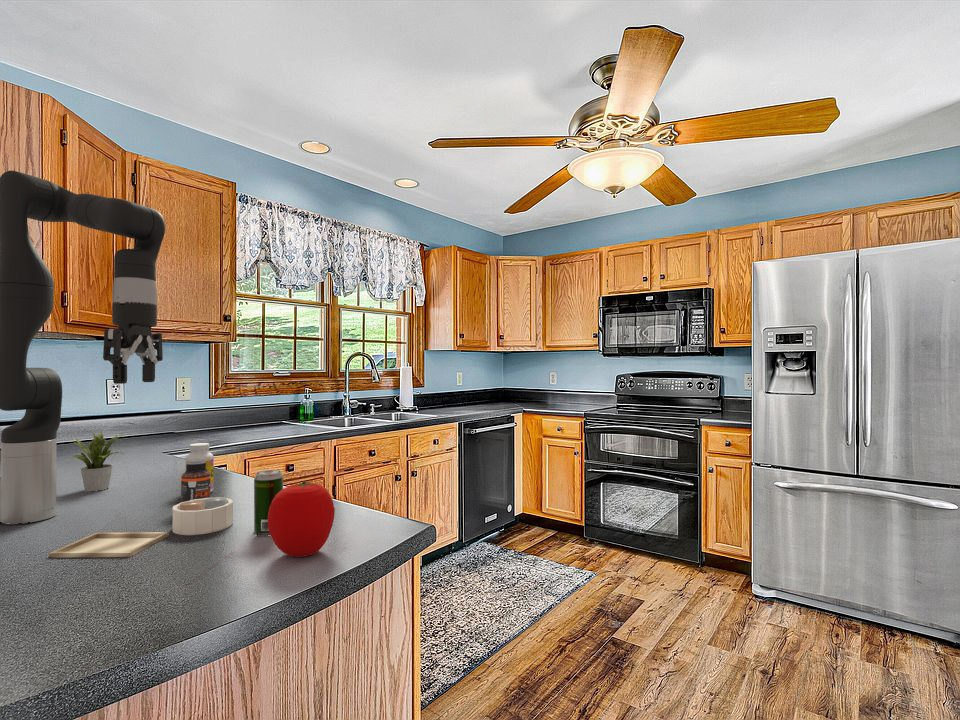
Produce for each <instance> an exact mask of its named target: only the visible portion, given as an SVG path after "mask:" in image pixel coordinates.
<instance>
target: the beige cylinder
mask: <svg viewBox="0 0 960 720" xmlns="http://www.w3.org/2000/svg"><path fill="white" fill-rule="evenodd" d="M180 503H181V502H180ZM180 510H184V511H197V510H202V502H201V501H189V502H184V503H181V504H180Z"/></svg>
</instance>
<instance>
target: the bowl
mask: <svg viewBox="0 0 960 720" xmlns="http://www.w3.org/2000/svg"><path fill="white" fill-rule="evenodd" d="M225 498H226V504H225V505H223V506H220V507H216V508H212V509H205V500H206V499H209V498H203V499H195V500H190V501H201V502H202V510H197V511H184V510H180V504H181V503H184V502H181V501H180V502H179V503H178V504H175V505H173V506H172V533H174V534H176V535H181V536H196V535H198V536H199V535H205V534H212V533H215V532H220V531H223V530H225V529H227V528H229V527H231V526H232V525H233V524H234V502H233V498H228V497H225ZM186 502H189V501H186Z"/></svg>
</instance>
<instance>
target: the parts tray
mask: <svg viewBox="0 0 960 720" xmlns="http://www.w3.org/2000/svg"><path fill="white" fill-rule="evenodd" d="M169 536H170V535H169V532H164V531H163V532H162V531H161V532H159V531H156V532H155V531H153V532H151V531H150V532H148V531H146V532H145V531H144V532H141V531H139V532H128V531H127V532H95V533H92V534H90V535H88V536H85V537H84V538H80V539H79V540H76V541H73V542H71V543H69V544H67V545H65V546H62V547H60V548H58V549H56V550H53V551H51V552H49V553H48V558H53V559H55V558H59V559H61V558H64V559H65V558H131V557H133V556H135V555H137V554H139V553H140V552H143V551H144V550H145V549H146V550H147V548H150V547H152V546H154V545H155V544H157V543H159V542H160V541H162V540H164V539H166V538H168V537H169Z"/></svg>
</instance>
